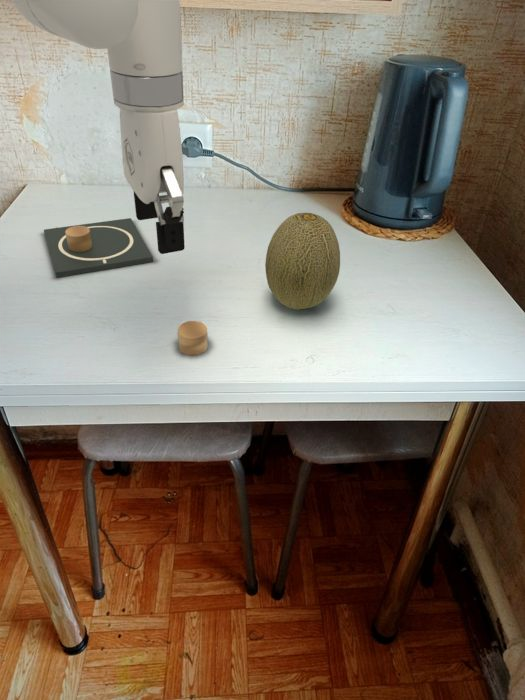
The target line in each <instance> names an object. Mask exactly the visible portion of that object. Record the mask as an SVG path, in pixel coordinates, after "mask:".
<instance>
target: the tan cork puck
mask: <svg viewBox="0 0 525 700" xmlns="http://www.w3.org/2000/svg"><path fill="white" fill-rule="evenodd" d="M72 226H73V227H70V228H68V229H67V230H66V231H65V233H66V238H67V243H68V248H69V249H70V250H71V251H74V252H84V251H87V250H89V249H91V248H92V240H91V234H90V229H89V228H88V227H85V226H75V225H72Z"/></svg>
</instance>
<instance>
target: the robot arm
mask: <svg viewBox="0 0 525 700" xmlns="http://www.w3.org/2000/svg"><path fill="white" fill-rule="evenodd" d="M11 2H12V4H13V5H14V7H15V8H16V10H17V11H18V12H19V13H20V15H21V16H22V17H23V18H24V19H25V20H27V21H28V22H29V23H31V24H32V25H33V26H35V27H37V28H38V29H40V30H42V31H44V32H46V33H49V34H51V35H54V36H57V37H59V38H61V39H65V40H68V41H70V42H73V43H75V44H78V45H79V46H82V47H85V48H88V49H94V50H104V49H105V50H106V49H107V57H108V65H109V74H110V82H111V90H112V98H113V104H114V106H115V107H117V108H118V109H119V123H120V124H119V127H120V140H121V154H122V168H123V174H124V178H125V180H126V182H127V183H128V185H129V186H130V188H131V189H132V191H133V199H134V200H133V201H134V209H135V217H136V219H137V221H145V220H152V219H157V220H158V221H155V229H156V241H157V243H156V244H157V251H158V252H159V254H160V255H163V254H170V253H176V252H182V251H185V227H184V226H185V223H184V222H185V215H184V213H185V211H184V210H185V209H184V191H185V180H184V179H185V177H184V160H183V148H182V138H181V137H182V136H181V127H180V120H179V112H178V109H181V108H183V106H184V105H185V102H184V101H185V99H184V74H183V73H184V71H183V47H182V22H181V20H182V19H181V0H11ZM163 193H166V194H163ZM160 194H163V195H160ZM163 204H168V206H166V207H165V209H163Z"/></svg>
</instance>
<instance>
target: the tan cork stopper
mask: <svg viewBox="0 0 525 700" xmlns="http://www.w3.org/2000/svg"><path fill="white" fill-rule="evenodd" d="M177 343H178V344H177V345H178V349H179V351H180V352H181V353H182V354H184V355H186V356H199V355H202V354H203V353H205V352H206V351H207V349H208V327H207V325H206V324H205V323H203V322H201V321H199V320H188V321H184V322H182V323H181V324H180V325H178V327H177Z"/></svg>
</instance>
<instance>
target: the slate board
mask: <svg viewBox="0 0 525 700" xmlns="http://www.w3.org/2000/svg"><path fill="white" fill-rule="evenodd" d="M133 221H134V220H132V218H131V217H127V218H119V219H114V220H105V221H99V222H91V223H83V224H75V225H69V226H60V227H52V228H46V229H43V234H44V237H45V241H46V244H47V245H46V246H47V248H48V251H49V255H50V259H51V262H52V266H53V269H54V274H55V277H56V278H62V277H69V276H75V275H80V274H88V273H93V272H98V271H105V270H110V269H111V270H112V269H116V268H122V267H130V266H134V265H142V264H147V263H152V262H154V256H153V254H152V253H151V251H150V249H149V248H148V246H147V244H146V242H145V241H144V239H143V237H142V235H141V233H140V231H139V230H138V228H137V227H136V224H135V223H134V222H133ZM73 226H85V227H88V228H89V229H90V234H91V240H92V248H91V249H89V250H87V251H84V252H74V251H71V250H70V249H69V248H68V243H67V238H66V233H65V231H66V230H67V229H68V228H70V227H73Z"/></svg>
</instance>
